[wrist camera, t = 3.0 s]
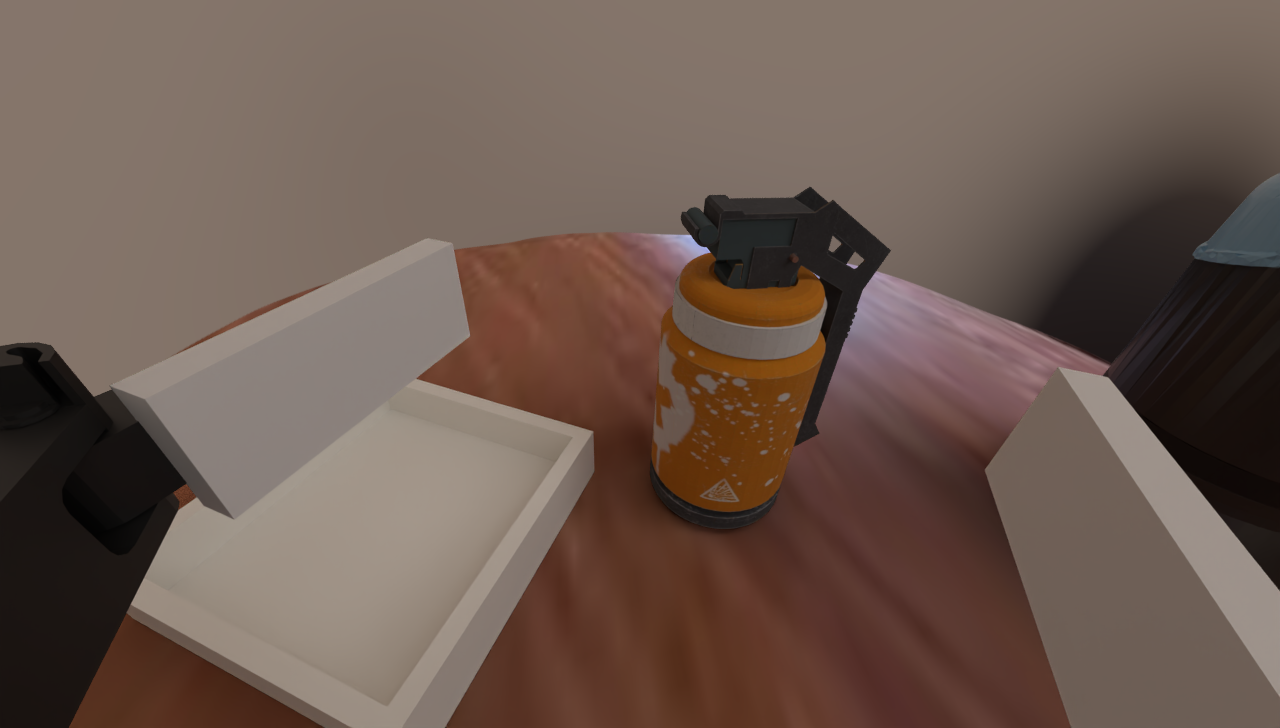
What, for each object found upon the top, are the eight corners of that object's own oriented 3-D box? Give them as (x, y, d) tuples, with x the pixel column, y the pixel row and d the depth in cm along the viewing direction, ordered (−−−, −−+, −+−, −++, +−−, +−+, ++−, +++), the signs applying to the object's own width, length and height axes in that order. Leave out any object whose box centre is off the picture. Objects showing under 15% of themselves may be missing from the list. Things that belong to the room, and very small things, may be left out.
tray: (394, 407, 38) (379, 368, 36) (594, 471, 33) (593, 431, 31) (134, 619, 24) (82, 577, 22) (415, 778, 19) (388, 748, 17)
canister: (639, 441, 36) (654, 169, 24) (772, 427, 38) (845, 169, 26) (665, 544, 29) (704, 230, 17) (827, 521, 31) (962, 223, 19)
